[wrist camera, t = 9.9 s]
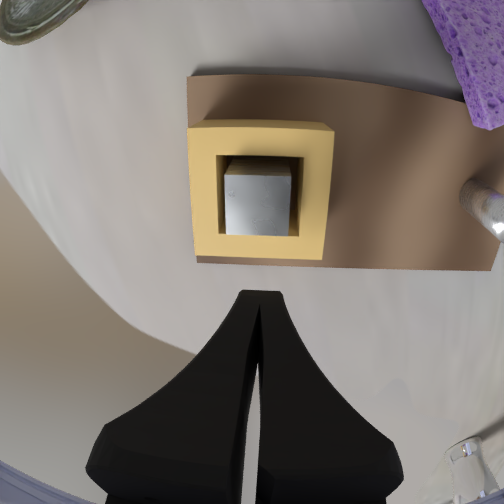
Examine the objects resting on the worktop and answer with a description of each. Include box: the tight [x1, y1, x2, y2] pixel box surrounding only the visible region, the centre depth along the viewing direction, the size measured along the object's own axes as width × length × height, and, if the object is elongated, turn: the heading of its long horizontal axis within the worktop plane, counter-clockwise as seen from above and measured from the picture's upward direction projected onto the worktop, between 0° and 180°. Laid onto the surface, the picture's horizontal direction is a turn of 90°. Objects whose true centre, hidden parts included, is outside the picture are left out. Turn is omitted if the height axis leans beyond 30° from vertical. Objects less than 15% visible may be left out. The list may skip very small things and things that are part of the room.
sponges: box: [421, 0, 504, 130], centre depth 9 cm, size 7×13×2 cm, turn 27°
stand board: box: [187, 74, 504, 271], centre depth 14 cm, size 19×10×5 cm, turn 90°
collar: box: [187, 119, 335, 260], centre depth 14 cm, size 6×6×3 cm
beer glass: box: [444, 436, 500, 504], centre depth 25 cm, size 7×7×15 cm
